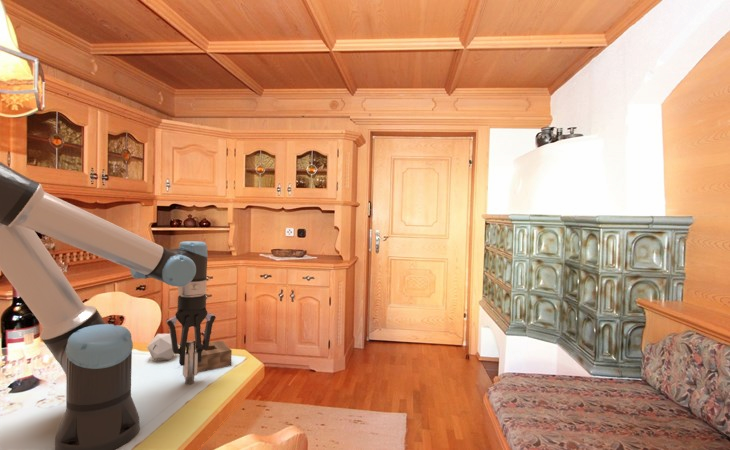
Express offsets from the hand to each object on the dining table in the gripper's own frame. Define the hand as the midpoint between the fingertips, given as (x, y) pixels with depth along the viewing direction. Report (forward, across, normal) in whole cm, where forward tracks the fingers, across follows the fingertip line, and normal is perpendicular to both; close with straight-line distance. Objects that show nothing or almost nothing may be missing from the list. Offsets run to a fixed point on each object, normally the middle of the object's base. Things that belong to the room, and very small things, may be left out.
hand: (189, 374), depth 110 cm
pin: (+2, 0, 0) cm, 2 cm away
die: (+3, -4, +24) cm, 25 cm away
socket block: (+2, +8, +12) cm, 15 cm away
